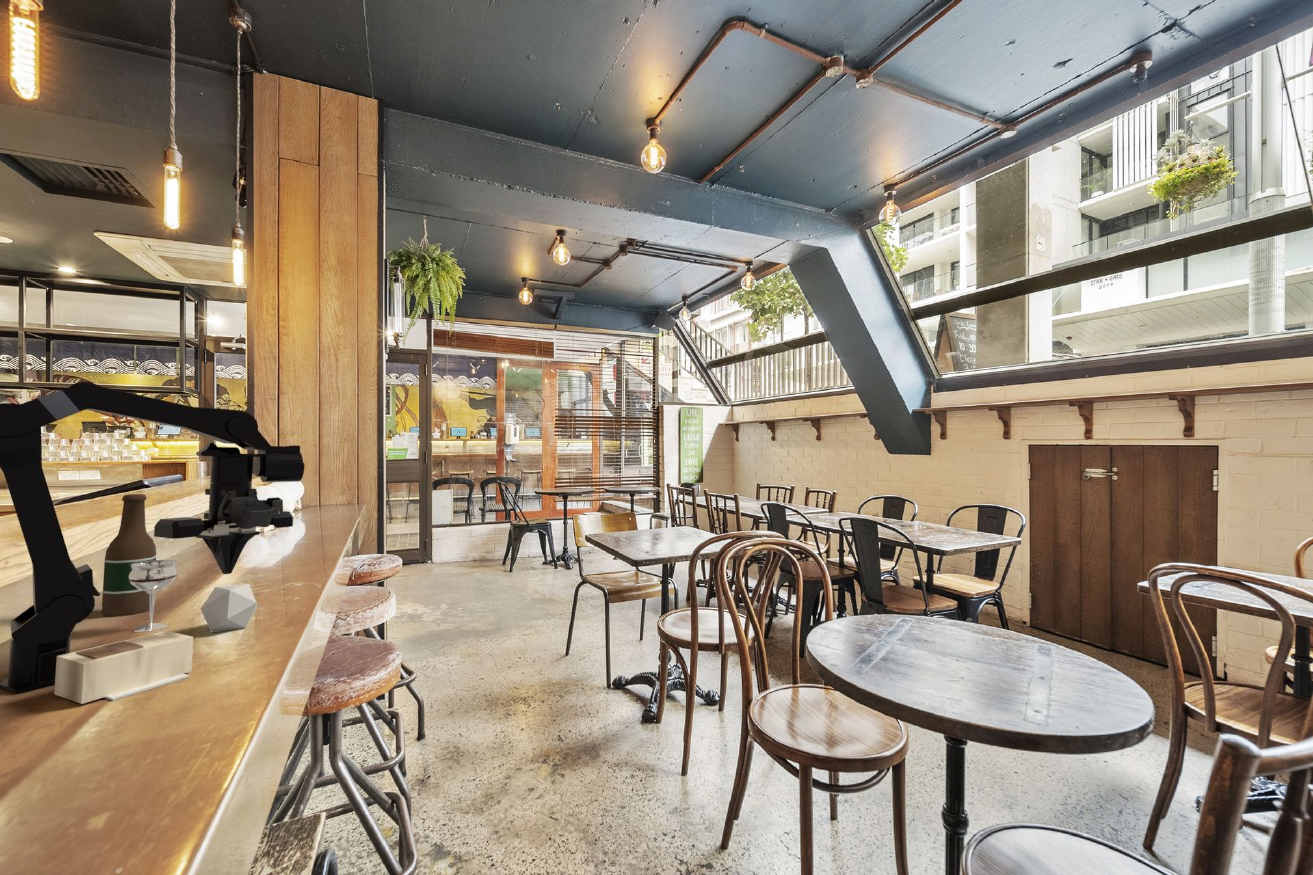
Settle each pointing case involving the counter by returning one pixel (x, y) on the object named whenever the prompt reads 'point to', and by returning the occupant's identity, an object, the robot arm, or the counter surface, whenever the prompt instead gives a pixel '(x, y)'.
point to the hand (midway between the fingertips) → (227, 573)
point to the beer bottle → (127, 561)
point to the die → (229, 607)
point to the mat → (146, 687)
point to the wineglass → (152, 583)
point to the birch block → (122, 666)
